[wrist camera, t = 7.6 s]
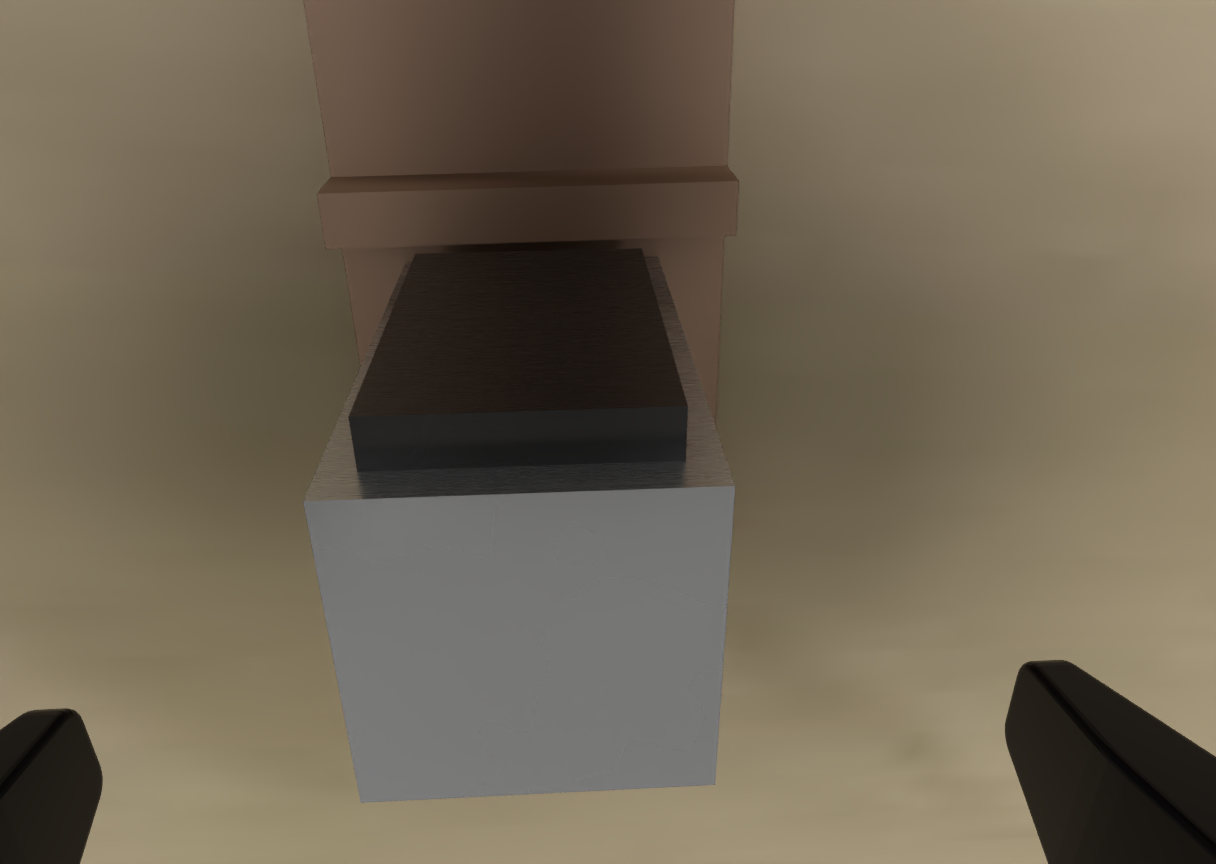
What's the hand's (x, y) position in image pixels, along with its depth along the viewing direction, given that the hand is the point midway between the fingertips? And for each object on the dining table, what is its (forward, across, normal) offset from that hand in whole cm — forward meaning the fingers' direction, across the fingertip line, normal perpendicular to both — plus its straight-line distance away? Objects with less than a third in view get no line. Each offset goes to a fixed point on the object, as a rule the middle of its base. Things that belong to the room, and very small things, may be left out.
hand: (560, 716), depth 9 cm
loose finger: (+8, 0, 0) cm, 8 cm away
